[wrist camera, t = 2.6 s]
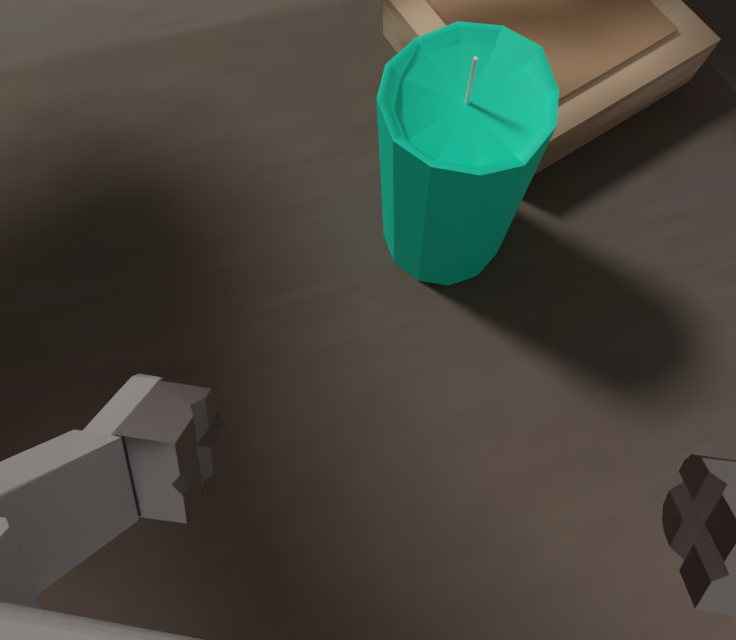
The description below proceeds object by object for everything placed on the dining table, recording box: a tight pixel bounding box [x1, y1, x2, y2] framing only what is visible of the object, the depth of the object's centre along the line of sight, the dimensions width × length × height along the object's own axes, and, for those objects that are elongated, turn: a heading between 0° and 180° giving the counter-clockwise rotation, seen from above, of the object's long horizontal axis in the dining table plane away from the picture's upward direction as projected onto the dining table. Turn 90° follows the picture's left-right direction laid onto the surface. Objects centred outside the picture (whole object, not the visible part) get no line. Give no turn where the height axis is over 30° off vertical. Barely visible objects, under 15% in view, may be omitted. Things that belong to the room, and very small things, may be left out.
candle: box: [377, 21, 559, 286], centre depth 22 cm, size 6×6×12 cm
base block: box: [383, 0, 721, 175], centre depth 28 cm, size 12×12×3 cm
